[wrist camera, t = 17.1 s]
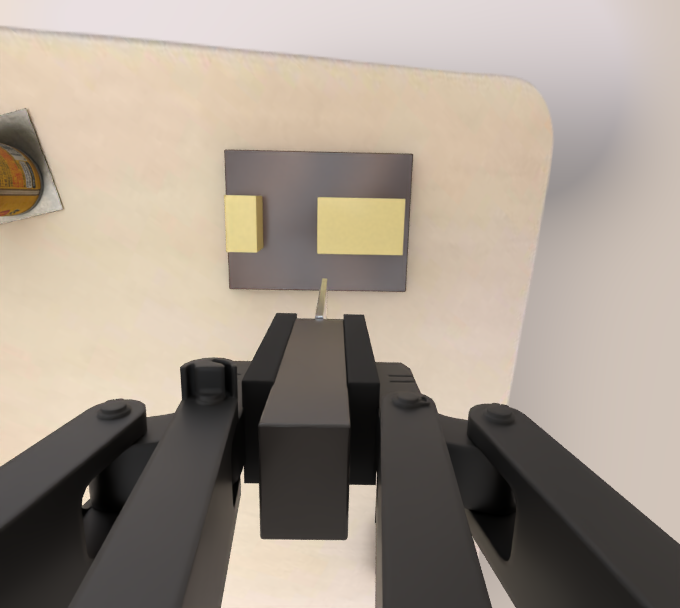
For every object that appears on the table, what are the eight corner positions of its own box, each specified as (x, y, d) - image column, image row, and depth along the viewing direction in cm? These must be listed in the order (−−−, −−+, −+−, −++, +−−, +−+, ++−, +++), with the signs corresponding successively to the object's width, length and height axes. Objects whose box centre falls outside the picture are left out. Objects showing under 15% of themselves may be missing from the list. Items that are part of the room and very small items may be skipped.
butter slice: (262, 195, 39) (255, 195, 36) (263, 248, 40) (257, 252, 37) (233, 195, 39) (224, 195, 36) (235, 247, 40) (226, 252, 37)
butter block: (399, 198, 40) (405, 198, 36) (396, 250, 41) (402, 255, 37) (318, 197, 39) (317, 197, 36) (318, 249, 40) (317, 253, 37)
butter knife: (341, 278, 24) (351, 421, 9) (340, 328, 25) (347, 545, 9) (307, 277, 24) (256, 419, 9) (307, 328, 25) (259, 544, 9)
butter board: (411, 154, 40) (413, 153, 39) (403, 289, 42) (405, 291, 41) (226, 150, 39) (224, 149, 38) (231, 286, 42) (229, 289, 41)
